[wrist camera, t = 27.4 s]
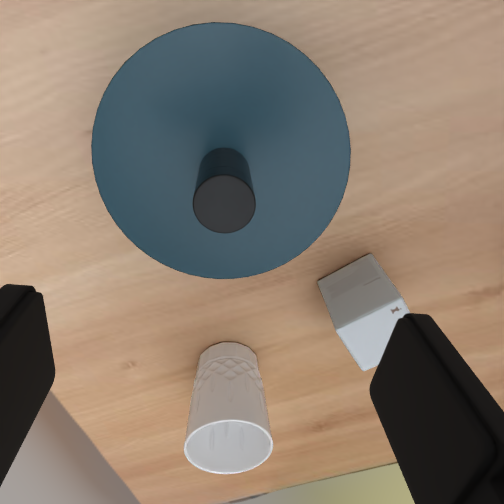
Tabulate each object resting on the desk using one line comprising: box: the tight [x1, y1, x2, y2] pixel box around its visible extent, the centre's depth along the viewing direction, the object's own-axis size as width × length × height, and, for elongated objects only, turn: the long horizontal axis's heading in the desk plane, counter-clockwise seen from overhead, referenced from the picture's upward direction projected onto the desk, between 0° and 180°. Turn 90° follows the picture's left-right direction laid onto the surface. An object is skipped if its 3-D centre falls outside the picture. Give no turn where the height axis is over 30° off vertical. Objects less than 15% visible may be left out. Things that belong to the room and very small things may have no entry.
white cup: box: [184, 342, 273, 474], centre depth 37 cm, size 8×8×10 cm
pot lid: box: [91, 22, 351, 279], centre depth 21 cm, size 16×16×7 cm
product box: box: [317, 253, 410, 371], centre depth 34 cm, size 6×6×7 cm
